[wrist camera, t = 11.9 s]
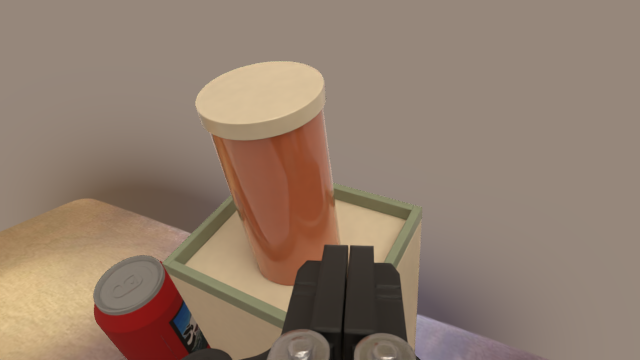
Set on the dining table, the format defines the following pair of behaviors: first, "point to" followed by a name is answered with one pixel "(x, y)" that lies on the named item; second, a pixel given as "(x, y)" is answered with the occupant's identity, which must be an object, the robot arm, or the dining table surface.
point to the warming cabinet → (273, 299)
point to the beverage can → (145, 312)
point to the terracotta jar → (275, 161)
